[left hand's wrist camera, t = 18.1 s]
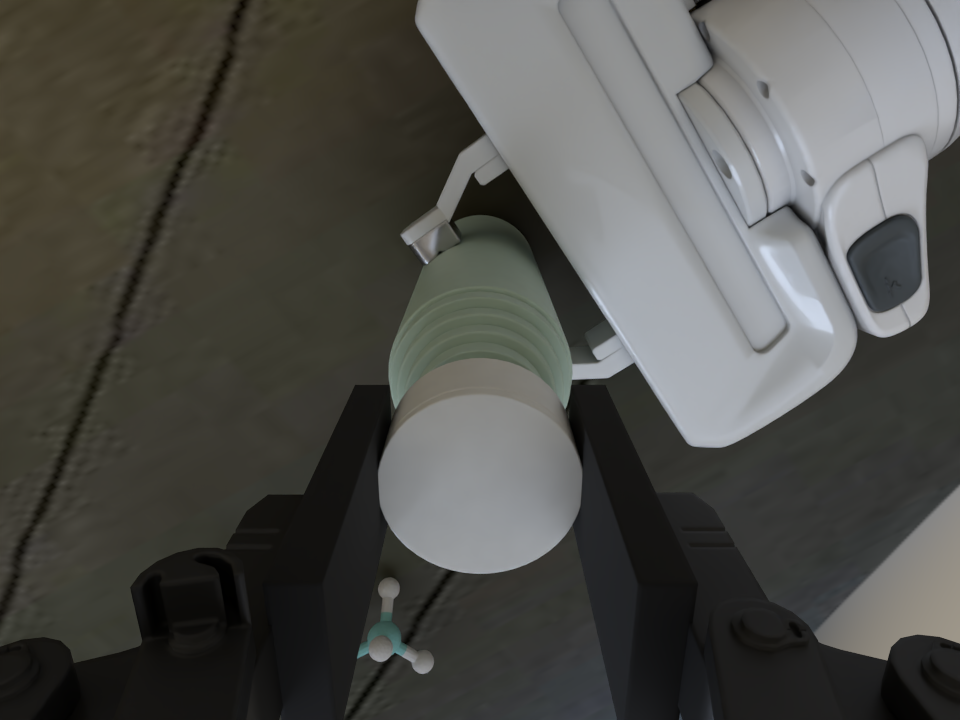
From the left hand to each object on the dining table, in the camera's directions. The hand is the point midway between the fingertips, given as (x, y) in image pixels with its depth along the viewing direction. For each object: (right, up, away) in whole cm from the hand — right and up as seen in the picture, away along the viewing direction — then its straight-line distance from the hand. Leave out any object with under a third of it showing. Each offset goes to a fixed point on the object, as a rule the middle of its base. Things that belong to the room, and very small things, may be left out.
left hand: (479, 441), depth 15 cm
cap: (0, -1, -2) cm, 2 cm away
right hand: (-1, +4, +11) cm, 12 cm away
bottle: (0, +6, +17) cm, 18 cm away
